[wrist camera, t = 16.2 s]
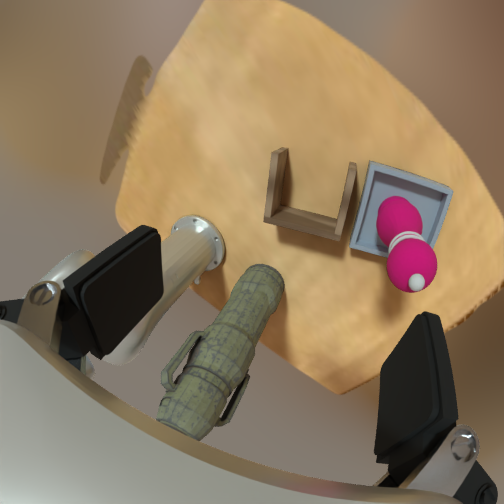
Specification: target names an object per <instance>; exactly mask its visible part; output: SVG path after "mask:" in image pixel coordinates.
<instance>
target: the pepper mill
mask: <svg viewBox="0 0 504 504" xmlns="http://www.w3.org/2000/svg"><path fill="white" fill-rule="evenodd" d="M376 228H377V232H378V235H379V237H380V239H381V240H382V242H383V243H384V244H385V245H386V246H388V247H389V250H388V252H389V256H388V259H387V272H388V276H389V278H390V280H391V282H392V283H393V284H394V285H395V286H396V287H397V288H398V289H400V290H402V291H404V292H409V293H413V292H418V291H421V290H423V289H425V288H426V287H427V286H428V285H430V283H431V282H432V281H433V279H434V277H435V275H436V271H437V259H436V255H435V253H434V251H433V249H432V248H431V246H430V245H429V244H428V243H426V242H425V240H424V239H423V237H422V236H421V234H422V229H423V223H422V218H421V215H420V213H419V211H418V210H417V208H416V207H415V206H414V205H412V204H411V203H410V202H409V201H408V200H407V199H405V198H403V197H400V196H392V197H388V198H387V199H385V200H384V201H383V202H382V203H381V204H380V206H379V209H378V216H377V220H376Z"/></svg>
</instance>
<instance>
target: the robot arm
mask: <svg viewBox="0 0 504 504" xmlns="http://www.w3.org/2000/svg"><path fill="white" fill-rule="evenodd" d="M224 254H225V246H224V242H223V239H222V236H221V234H220V233H219V231H218V230H217V228H216V227H215V226H214V225H213V224H212V223H211V222H209V221H208V220H206V219H204V218H202V217H200V216H196V215H188V216H184V217H182V218H180V219H179V220H178V221H177V222H176V223H175V224H174V225H173V227H172V230H171V235H170V236H169V237H168V238H166V239H165V240H164V241H162V242H161V237H160V234H158V231H157V229H155V228H152V227H149V226H146V225H141V226H139V227H137V228H136V229H134V230H133V231H131V232H130V233H128V234H127V235H125V236H124V237H122V238H121V239H119V240H118V241H116V242H115V243H114V244H112V245H111V246H109V247H108V248H106V249H105V250H104V251H102V252H101V253H99V254H98V255H96V256H95V255H94V254H93V253H91V252H90V251H88V250H84V249H82V250H78V251H75V252H73V253H72V254H70V255H69V256H67V257H66V258H65V259H63V260H62V261H61V262H60V263H59V264H57V265H56V266H55V267H54V268H53V269H52V270H51V271H50V272H49V273H47V274H46V275H45V276H44V277H43V278H42V279H41V280H40V281H39V282H38V283H37V284H35V285H34V286H33V287H31V289H30V290H29V291H28V293H27V294H26V295H25V296H24V297H23V298H22V299H17V300H9V301H1V302H0V504H496V502H497V497H498V492H497V487H496V485H495V483H494V482H493V481H492V480H491V478H490V477H489V476H488V474H487V473H486V472H485V471H484V469H483V468H482V467H481V465H480V464H479V463H478V462H477V460H476V459H477V456H478V454H479V447H480V446H479V439H478V437H477V434H476V433H475V431H474V430H473V429H472V428H471V427H469V426H467V425H458V426H456V420H458V409H457V401H456V393H455V386H454V380H453V374H452V368H451V363H450V358H449V353H448V349H447V344H446V340H445V336H444V332H443V328H442V324H441V320H440V317H439V316H438V315H436V314H432V313H429V312H426V311H425V312H423V313H422V314H421V315H420V314H418V315H417V316H416V317H415V318H414V320H413V321H412V323H411V325H410V326H409V328H408V329H407V331H406V332H405V334H404V335H403V337H402V338H401V340H400V341H399V342H398V344H397V345H396V347H395V348H394V350H393V351H392V352H391V354H390V355H389V356H388V358H387V359H386V360H385V362H384V363H383V365H382V368H381V372H380V395H379V409H378V422H377V430H376V439H375V447H374V453H375V455H377V460H376V463H383V464H389V465H388V472H386V474H385V475H383V476H382V477H381V478H380V479H379V480H378V481H377V482H376V483H375V484H374V485H373V486H365V485H356V484H348V483H342V482H334V481H328V480H323V479H318V478H313V477H307V476H303V475H299V474H295V473H290V472H286V471H282V470H279V469H275V468H272V467H268V466H265V465H262V464H258V463H255V462H252V461H249V460H246V459H243V458H240V457H237V456H235V455H232V454H229V453H227V452H224V451H221V450H219V449H216V448H214V447H211V446H209V445H207V444H204V443H202V442H200V441H197V440H195V439H193V438H191V437H189V436H186V435H184V434H182V433H180V432H178V431H176V430H174V429H172V428H170V427H168V426H166V425H164V424H162V423H160V422H158V421H157V420H155V419H153V418H151V417H149V416H148V415H146V414H144V413H142V412H141V411H139V410H137V409H135V408H134V407H132V406H130V405H129V404H127V403H126V402H124V401H122V400H121V399H119V398H118V397H116V396H115V395H113V394H112V393H110V392H108V391H107V390H105V389H104V388H103V387H101V386H100V385H98V384H97V383H96V382H94V381H93V378H94V374H95V370H94V366H93V364H92V363H91V361H90V359H89V358H88V356H87V355H86V354H87V353H88V352H89V351H90V352H91V354H93V355H94V356H95V357H97V358H99V359H100V360H101V359H103V360H104V361H106V362H108V363H110V364H113V365H124V364H127V363H129V362H130V361H132V360H133V359H134V358H135V357H136V356H137V355H138V354H139V353H140V351H141V349H142V348H143V347H144V345H145V343H146V342H147V340H148V338H149V336H150V334H151V333H152V331H153V329H154V328H155V326H156V325H157V323H158V322H159V321H160V319H161V318H162V317H163V316H164V314H165V313H166V312H167V311H168V310H169V308H170V307H171V306H172V305H173V304H174V303H175V301H176V300H177V299H178V298H179V297H180V296H181V295H182V294H183V293H184V291H185V290H186V289H187V288H188V287H189V286H190V285H191V284H192V283H193V281H194V283H195V284H200V276H201V275H202V274H203V272H204V271H210V270H212V269H215V268H216V267H217V266H218V265H219V264H220V263H221V261H222V260H223V257H224Z"/></svg>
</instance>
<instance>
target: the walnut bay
mask: <svg viewBox="0 0 504 504" xmlns="http://www.w3.org/2000/svg"><path fill="white" fill-rule="evenodd" d="M287 153H288V148H283V147H282V148H280V149H278V150H276V151H274V152H272V154H271V163H270V171H269V179H268V188H267V196H266V204H265V213H264V221H263V222H265V223H269V224H273V225H277V226H281V227H285V228H289V229H293V230H297V231H301V232H305V233H309V234H313V235H317V236H321V237H324V238H328V239H332V240H336V241H340V237H341V233H342V230H343V226H344V222H345V218H346V214H347V210H348V206H349V202H350V198H351V193H352V189H353V184H354V180H355V175H356V163H353V162H350V163H349V168H348V173H347V178H346V183H345V187H344V192H343V196H342V201H341V205H340V209H339V214H338V218H337V219H335V218H331V217H327V216H323V215H320V214H316V213H312V212H307V211H303V210H299V209H295V208H291V207H286V206H282V205H280V203H281V196H282V189H283V182H284V175H285V168H286V160H287Z"/></svg>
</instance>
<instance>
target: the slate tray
mask: <svg viewBox="0 0 504 504" xmlns="http://www.w3.org/2000/svg"><path fill="white" fill-rule="evenodd" d="M452 194H453V190H452V189H450V188H449V187H448V186H446V185H444V184H441V183H438V182H436V181H433V180H430V179H427V178H424V177H422V176H419V175H416V174H413V173H410V172H407V171H404V170H400V169H397V168H394V167H391V166H387V165H384V164H380V163H377V162H373V161H370V160H369V165H368V170H367V174H366V179H365V183H364V187H363V191H362V195H361V200H360V203H359V207H358V211H357V215H356V219H355V223H354V226H353V230H352V233H351V237H350V244H349V247H350V248H354V249H358V250H361V251H365V252H369V253H372V254H376V255H379V256H383V257H386V258H388V256H389V252H388V250H389V247H388V246H386V245H385V244H384V243H383V242H382V240H381V239H380V237H379V235H378V232H377V228H376V220H377V216H378V209H379V206H380V204H381V203H382V202H383V201H384V200H385V199H387V198H388V197H392V196H400V197H403V198H405V199H407V200H408V201H409V202H410V203H411V204H412V205H414V206H415V207H416V208H417V210H418V211H419V213H420V215H421V218H422V223H423V229H422V234H421V236H422V237H423V239H424V240H425V242H426V243H428V244H429V245H430V246H431V248H432V249H433V248H434V245H435V243H436V240H437V238H438V235H439V232H440V230H441V227H442V224H443V222H444V219H445V216H446V213H447V210H448V207H449V204H450V201H451V198H452Z"/></svg>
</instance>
